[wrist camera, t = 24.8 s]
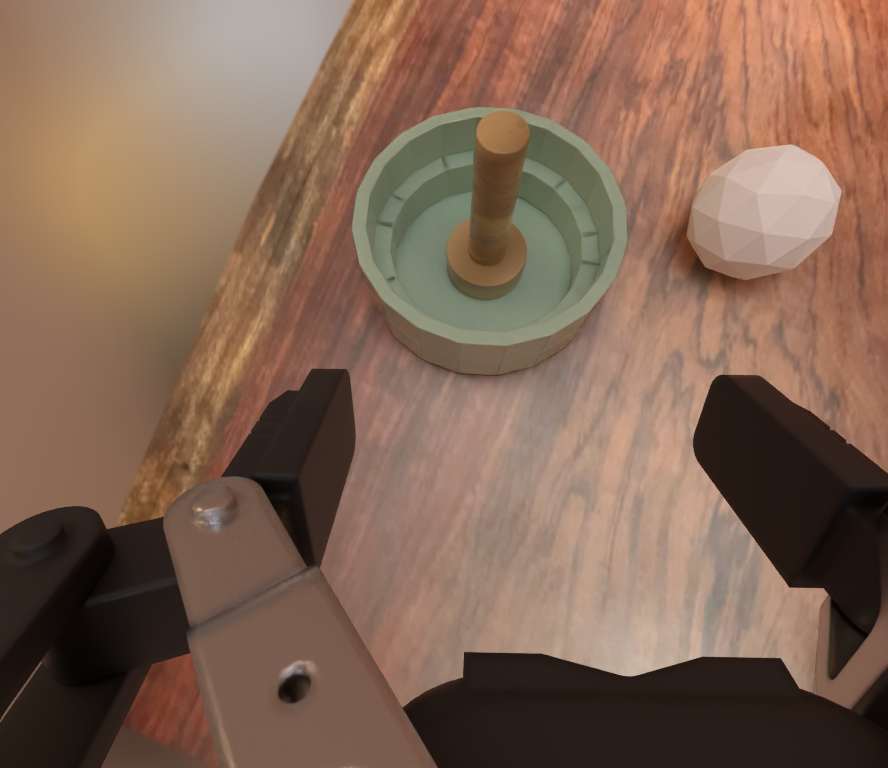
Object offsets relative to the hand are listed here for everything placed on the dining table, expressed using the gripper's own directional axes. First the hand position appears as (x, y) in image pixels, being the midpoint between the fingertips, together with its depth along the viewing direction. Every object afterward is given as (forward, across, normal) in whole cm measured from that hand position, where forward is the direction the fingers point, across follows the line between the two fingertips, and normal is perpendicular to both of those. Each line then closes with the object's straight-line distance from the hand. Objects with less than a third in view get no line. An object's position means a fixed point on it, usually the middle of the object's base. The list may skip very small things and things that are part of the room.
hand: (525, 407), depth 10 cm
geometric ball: (+24, -17, +2) cm, 30 cm away
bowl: (+23, 0, +3) cm, 23 cm away
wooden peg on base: (+23, -1, +3) cm, 23 cm away
